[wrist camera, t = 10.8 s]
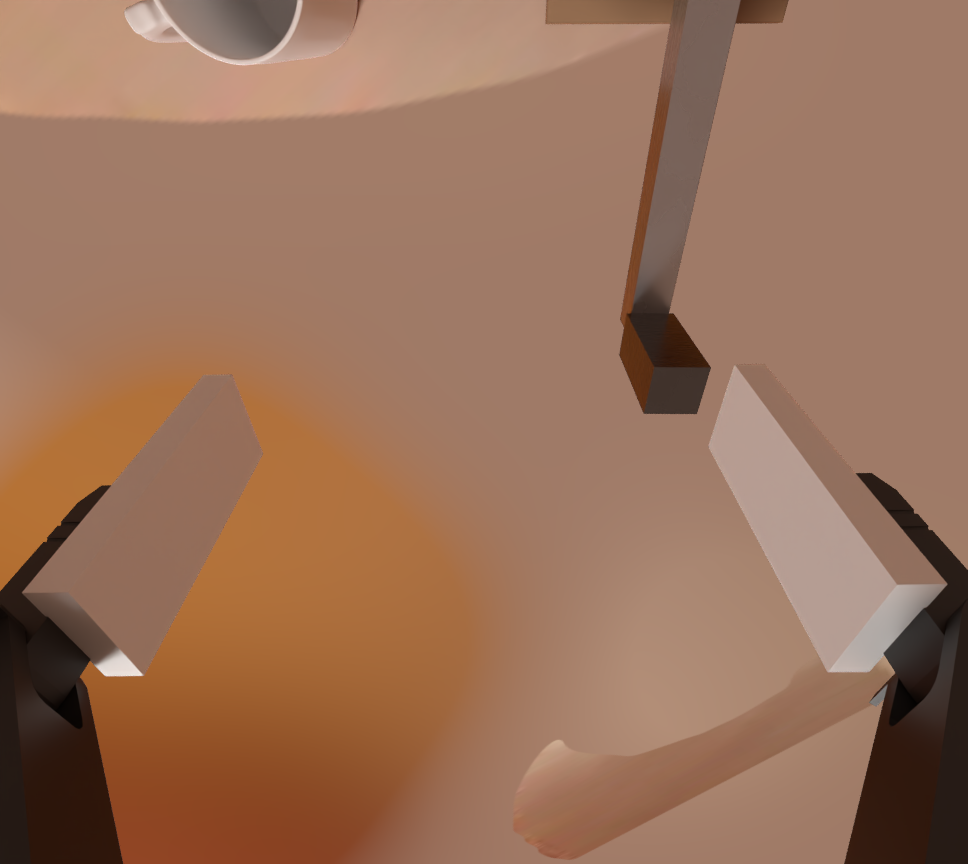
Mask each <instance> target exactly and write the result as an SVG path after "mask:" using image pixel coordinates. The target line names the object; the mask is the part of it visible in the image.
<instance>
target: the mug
mask: <svg viewBox="0 0 968 864" xmlns="http://www.w3.org/2000/svg"><path fill="white" fill-rule="evenodd" d="M357 6H358V0H145V1H141V2H138V3H136V4H134V5H132V6H129V7H127V8H126V9H125V11H124V14H125V17H126V19H127V21H128V23H129V24H130V26H131V27H132V29H133V30H134V31H135V32H136V33H137V34H140V35H142V36H143V37H144V38H146V39H147V40H150V41H154V42H164V43H169V42H189V43H190V44H191V45H192V46H194V47H195V48H196V49H198V50H199V51H201V52H203V53H204V54H206V55H208V56H210V57H212V58H214V59H216V60H219V61H222V62H225V63H229V64H235V65H252V64H269V63H277V62H285V61H292V60H301V59H310V58H315V57H320V56H325V55H328V54H331V53H333V52H334V51H336V50H337V49H339V48H340V47H341V46H342V45H343V44H344V43H345V42H346V40H347V39H348V37H349V36H350V34H351V32H352V29H353V27H354V24H355V20H356V15H357Z"/></svg>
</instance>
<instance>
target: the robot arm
mask: <svg viewBox="0 0 968 864" xmlns="http://www.w3.org/2000/svg"><path fill="white" fill-rule="evenodd" d="M709 449H710V451H711V453H712V454H713V456H714V458H715V460H716V462H717V464H718V466H719V468H720V470H721V471H722V473H723V475H724V477H725V479H726V481H727V483H728V485H729V486H730V488H731V490H732V492H733V494H734V496H735V498H736V500H737V502H738V504H739V505H740V507H741V509H742V511H743V513H744V515H745V517H746V518H747V521H748V522H749V524H750V526H751V528H752V530H753V532H754V534H755V536H756V538H757V539H758V541H759V543H760V545H761V547H762V549H763V551H764V553H765V554H766V557H767V558H768V560H769V562H770V564H771V566H772V568H773V570H774V572H775V573H776V575H777V577H778V579H779V581H780V583H781V585H782V587H783V589H784V590H785V592H786V594H787V596H788V598H789V600H790V601H791V604H792V605H793V607H794V609H795V611H796V613H797V615H798V617H799V619H800V621H801V623H802V625H803V626H804V628H805V630H806V632H807V634H808V636H809V638H810V639H811V641H812V643H813V645H814V647H815V649H816V651H817V653H818V655H819V657H820V659H821V660H822V662H823V664H824V666H825V668H826V670H827V672H869V671H870V670H871V669H872V668H873V667H874V666H875V665H876V664H877V662H878V661H879V660H880V659H881V658H882V657H883V656H884V655H885V657H886V658H887V660H888V661H889V663H890V665H891V666H892V668H893V669H894V671H895V674H894V675H893V676H892V677H891V678H890V679H889V680H888V681H887V682H886V683H885V684H884V685H883V687H882V688H881V689H880V690H879V691H878V692H877V693H876V694H875V695H874V696H873V698H872V699H871V701H870V702H869V703H871V704H872V705H874V706H877V705H878V704H879V703H880V702H881V701H882V700H883V699H884V702H883V706H882V710H881V715H880V718H879V722H878V727H877V731H876V735H875V739H874V743H873V747H872V752H871V756H870V760H869V764H868V768H867V772H866V776H865V780H864V784H863V789H862V793H861V797H860V801H859V805H858V809H857V813H856V818H855V822H854V826H853V830H852V834H851V838H850V842H849V846H848V851H847V855H846V859H845V863H844V864H968V570H967V569H966V568H965V567H964V565H963V564H962V563H961V562H960V561H959V560H958V559H957V558H956V557H955V556H954V555H953V553H952V552H951V551H950V550H949V549H948V547H947V546H946V545H945V544H944V543H943V542H942V541H941V540H940V538H939V537H938V536H937V535H936V534H935V533H934V532H933V531H932V530H929V529H928V525H927V524H926V523H925V522H924V521H923V520H922V518H921V517H920V516H919V515H918V514H914V509H913V508H912V507H911V506H910V505H909V504H908V503H907V501H906V500H905V499H904V498H903V497H902V496H901V495H900V494H899V492H898V491H897V490H896V489H894V488H892V487H891V486H890V485H888V484H887V483H885V482H884V481H882V480H881V479H879V478H878V477H876V476H875V475H873V474H872V473H855V472H854V471H853V470H852V469H851V467H850V466H849V465H848V464H847V462H846V461H845V460H844V459H843V458H842V456H841V455H840V454H839V453H838V452H837V450H836V449H835V448H834V447H833V446H832V444H831V443H830V442H829V441H828V440H827V438H826V437H825V436H824V435H823V434H822V432H821V431H820V430H819V429H818V428H817V426H816V425H815V424H814V423H813V422H812V421H811V419H810V418H809V417H808V416H807V414H806V413H805V412H804V411H803V409H801V407H800V406H799V405H798V403H796V401H795V400H794V399H793V397H792V396H791V395H790V394H789V393H788V392H787V390H786V389H785V388H784V387H783V385H782V384H781V383H780V382H779V381H778V379H777V378H776V377H775V376H774V375H773V373H772V372H771V371H770V370H769V369H768V368H767V366H766V365H765V364H744V365H743V364H741V365H734V368H733V371H732V375H731V378H730V381H729V384H728V387H727V390H726V394H725V396H724V400H723V403H722V406H721V409H720V412H719V415H718V418H717V421H716V425H715V428H714V431H713V434H712V437H711V440H710V443H709ZM262 455H263V452H262V449H261V447H260V445H259V442H258V439H257V437H256V434H255V432H254V429H253V426H252V424H251V421H250V419H249V416H248V414H247V411H246V409H245V406H244V404H243V401H242V399H241V396H240V393H239V391H238V388H237V386H236V383H235V381H234V378H233V375H203V376H202V378H201V379H200V380H199V381H198V382H197V383H196V385H195V386H194V387H193V388H192V389H191V391H190V392H189V393H188V394H187V395H186V397H185V398H184V399H183V400H182V401H181V403H180V404H179V405H178V406H177V407H176V409H175V410H174V411H173V412H172V413H171V415H170V416H169V417H168V418H167V420H166V421H165V422H164V423H163V424H162V426H161V427H160V428H159V429H158V430H157V431H156V433H155V434H154V435H153V436H152V437H151V439H150V440H149V441H148V442H147V443H146V445H145V446H144V447H143V448H142V449H141V451H140V452H139V453H138V454H137V455H136V457H135V458H134V459H133V460H132V462H131V463H130V464H129V465H128V466H127V467H126V469H125V470H124V471H123V472H122V473H121V475H120V476H119V477H118V478H117V479H116V481H115V482H114V483H113V484H112V485H110V486H109V485H108V486H101V487H99V488H98V489H97V490H95V491H94V492H92V493H91V494H89V495H88V496H87V497H85V498H84V499H82V500H81V501H80V502H78V503H77V504H76V506H75V507H74V508H73V509H72V510H71V511H70V512H69V514H68V515H67V516H66V517H65V518H64V519H63V520H62V521H61V526H57V527H56V528H55V529H54V531H53V532H52V533H51V534H50V535H49V536H48V537H47V542H43V543H42V544H41V545H40V547H39V548H38V549H37V550H36V552H34V554H33V555H32V556H31V557H30V558H29V559H28V560H27V561H26V563H25V564H24V565H23V566H22V567H21V568H20V569H19V571H18V572H17V573H16V574H15V575H14V576H13V577H12V579H11V580H10V581H9V582H8V583H7V584H6V585H5V587H4V588H3V589H2V590H1V591H0V864H123V861H122V856H121V851H120V846H119V841H118V837H117V831H116V827H115V822H114V817H113V812H112V807H111V802H110V798H109V793H108V788H107V784H106V778H105V773H104V768H103V763H102V758H101V754H100V749H99V744H98V739H97V734H96V729H95V724H94V719H93V715H92V710H91V705H90V700H89V695H88V690H87V687H86V685H85V684H84V682H83V681H82V679H81V678H80V675H81V674H82V672H83V671H84V669H85V667H86V666H87V664H88V663H89V661H91V662H92V663H93V664H94V665H95V666H96V667H97V668H98V669H99V670H100V671H101V672H102V673H103V674H104V675H105V676H144V675H145V673H146V671H147V669H148V667H149V665H150V663H151V661H152V659H153V658H154V656H155V654H156V652H157V650H158V649H159V647H160V645H161V643H162V641H163V639H164V637H165V635H166V634H167V632H168V630H169V628H170V626H171V624H172V622H173V621H174V619H175V616H176V615H177V613H178V611H179V609H180V608H181V606H182V604H183V602H184V600H185V598H186V596H187V594H188V592H189V591H190V589H191V587H192V585H193V583H194V582H195V580H196V578H197V576H198V574H199V572H200V570H201V568H202V567H203V565H204V563H205V561H206V559H207V557H208V555H209V554H210V552H211V550H212V548H213V546H214V544H215V542H216V541H217V539H218V537H219V535H220V533H221V531H222V529H223V528H224V526H225V524H226V522H227V520H228V518H229V516H230V514H231V513H232V511H233V509H234V507H235V505H236V503H237V501H238V499H239V498H240V496H241V494H242V492H243V490H244V488H245V486H246V485H247V483H248V481H249V479H250V477H251V475H252V474H253V472H254V470H255V468H256V466H257V464H258V462H259V460H260V458H261V457H262Z"/></svg>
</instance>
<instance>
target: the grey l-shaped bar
mask: <svg viewBox="0 0 968 864" xmlns="http://www.w3.org/2000/svg"><path fill="white" fill-rule="evenodd" d="M740 1H741V0H674V5H673V10H672V16H671V22H670V28H669V34H668V40H667V46H666V52H665V58H664V64H663V70H662V75H661V81H660V87H659V93H658V99H657V105H656V111H655V118H654V123H653V129H652V134H651V140H650V147H649V152H648V158H647V164H646V170H645V176H644V182H643V188H642V194H641V199H640V206H639V211H638V217H637V223H636V229H635V235H634V241H633V247H632V252H631V258H630V265H629V270H628V276H627V282H626V288H625V294H624V300H623V306H622V312H621V317H620V320H621V322H622V324H623V326H624V332H623V337H622V343H621V348H620V354H619V355H620V358H621V360H622V363H623V365H624V367H625V370H626V372H627V375H628V377H629V379H630V382H631V384H632V387H633V389H634V391H635V394H636V396H637V399H638V401H639V403H640V406H641V408H642V411H643V413H644V414H697V412H698V408H699V405H700V402H701V398H702V395H703V392H704V389H705V385H706V382H707V379H708V375H709V372H710V369H711V367H710V366H709V364H708V363H707V361H706V360H705V359H704V357H703V355H702V354H701V353H700V351H699V350H698V348H697V347H696V346H695V344H694V342H693V341H692V340H691V338H690V337H689V335H688V334H687V332H686V331H685V329H684V328H683V327H682V325H681V324H680V322H679V321H678V319H677V318H676V317H675V315H674V314H669V310H670V306H671V301H672V297H673V293H674V289H675V284H676V280H677V276H678V271H679V267H680V262H681V258H682V253H683V249H684V245H685V241H686V236H687V232H688V227H689V223H690V219H691V214H692V210H693V206H694V201H695V197H696V193H697V188H698V184H699V179H700V175H701V171H702V166H703V162H704V158H705V153H706V149H707V144H708V140H709V136H710V131H711V127H712V123H713V118H714V114H715V109H716V105H717V101H718V96H719V92H720V87H721V83H722V79H723V75H724V70H725V66H726V61H727V57H728V53H729V48H730V44H731V39H732V35H733V31H734V27H735V22H736V18H737V14H738V9H739V5H740Z"/></svg>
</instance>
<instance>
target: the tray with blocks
mask: <svg viewBox="0 0 968 864" xmlns="http://www.w3.org/2000/svg"><path fill="white" fill-rule="evenodd" d="M787 4H788V0H741V1H740V5H739V9H738V14H737V18H736V22H735V23H780V22H783V18H784V15H785V11H786V7H787ZM673 5H674V0H547V6H546V24H670V22H671V16H672V10H673Z"/></svg>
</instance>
